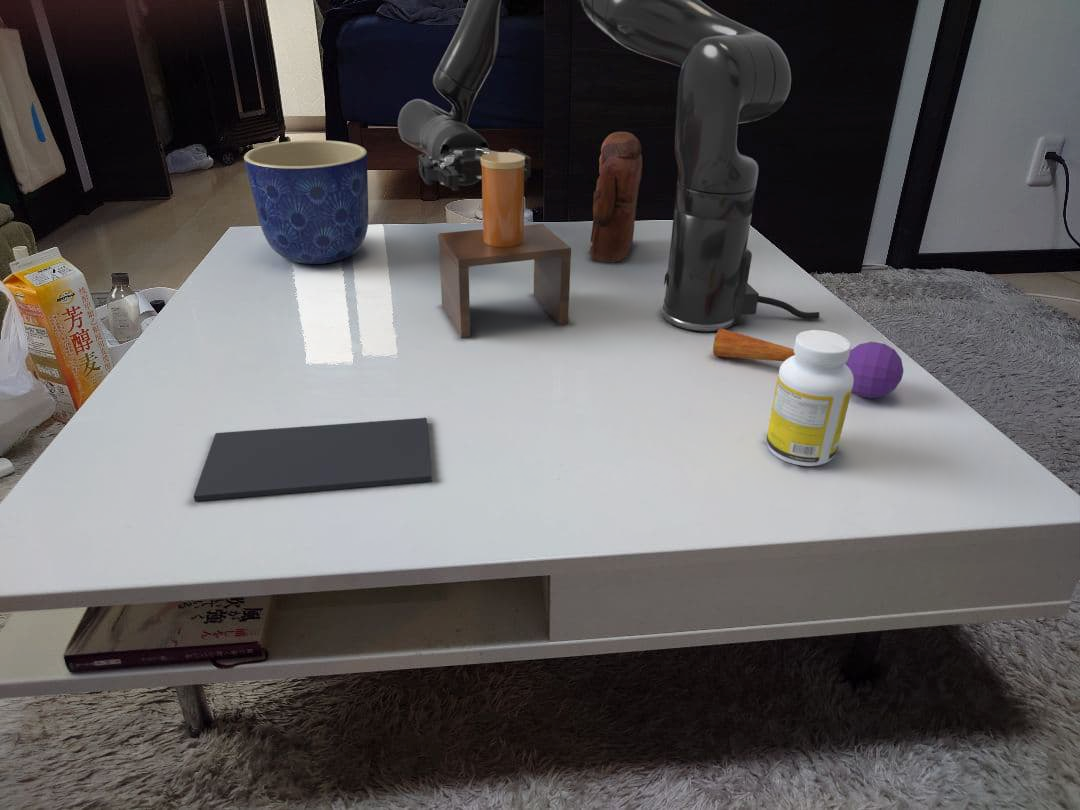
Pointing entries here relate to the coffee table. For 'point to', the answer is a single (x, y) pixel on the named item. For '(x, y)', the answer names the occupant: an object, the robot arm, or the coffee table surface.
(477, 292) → the coffee table surface
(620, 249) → the wooden figurine
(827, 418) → the pill bottle
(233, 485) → the mat
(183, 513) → the coffee table surface
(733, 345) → the purple and wooden maraca
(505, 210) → the jar
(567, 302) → the shelf
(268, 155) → the planter
